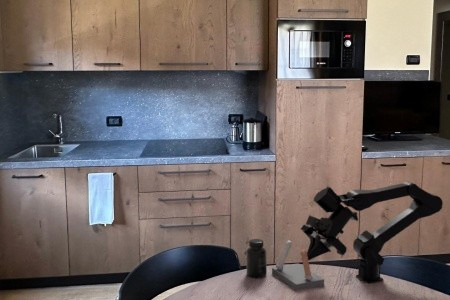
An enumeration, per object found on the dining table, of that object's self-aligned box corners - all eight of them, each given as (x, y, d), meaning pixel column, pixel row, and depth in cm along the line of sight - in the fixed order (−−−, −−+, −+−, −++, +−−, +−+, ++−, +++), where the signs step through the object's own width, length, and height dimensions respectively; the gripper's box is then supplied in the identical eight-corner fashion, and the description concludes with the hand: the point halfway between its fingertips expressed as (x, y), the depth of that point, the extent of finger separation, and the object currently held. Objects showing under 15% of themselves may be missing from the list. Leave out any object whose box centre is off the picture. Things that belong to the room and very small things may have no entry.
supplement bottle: (265, 271, 160) (265, 237, 159) (267, 278, 154) (268, 243, 152) (245, 271, 160) (245, 237, 159) (247, 278, 153) (247, 244, 152)
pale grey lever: (279, 268, 158) (290, 240, 158) (283, 271, 155) (294, 242, 156) (274, 266, 157) (285, 239, 157) (277, 269, 155) (289, 240, 155)
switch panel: (298, 268, 162) (298, 263, 162) (324, 285, 148) (324, 279, 148) (272, 273, 158) (272, 267, 158) (296, 290, 144) (296, 284, 144)
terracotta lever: (309, 276, 149) (304, 247, 147) (313, 279, 147) (308, 250, 145) (304, 279, 148) (298, 250, 146) (308, 281, 146) (302, 252, 144)
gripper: (306, 200, 155) (276, 236, 152) (339, 213, 138) (307, 253, 135) (325, 220, 159) (297, 256, 156) (360, 235, 142) (329, 275, 139)
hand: (306, 259), depth 146 cm, fingers closed, pressing on terracotta lever
